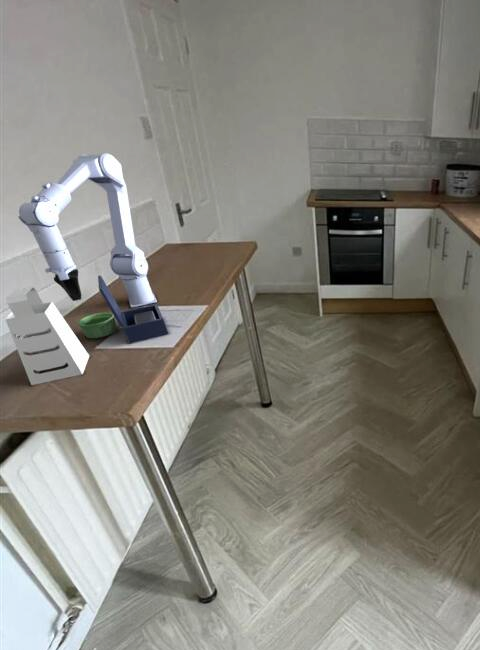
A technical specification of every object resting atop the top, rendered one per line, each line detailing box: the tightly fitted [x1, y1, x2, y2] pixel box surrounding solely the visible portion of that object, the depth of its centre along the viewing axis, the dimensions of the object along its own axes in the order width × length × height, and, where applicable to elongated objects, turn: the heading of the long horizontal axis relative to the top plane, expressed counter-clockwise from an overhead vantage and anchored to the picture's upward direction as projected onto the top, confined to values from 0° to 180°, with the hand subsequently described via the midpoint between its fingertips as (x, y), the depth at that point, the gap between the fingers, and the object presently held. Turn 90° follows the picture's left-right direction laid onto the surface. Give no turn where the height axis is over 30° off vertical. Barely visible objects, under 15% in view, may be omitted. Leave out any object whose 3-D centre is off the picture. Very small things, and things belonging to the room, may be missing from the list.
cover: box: [97, 274, 124, 328], centre depth 114 cm, size 11×14×1 cm
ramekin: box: [77, 312, 118, 339], centre depth 120 cm, size 9×9×4 cm
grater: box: [4, 286, 90, 386], centre depth 98 cm, size 10×10×20 cm
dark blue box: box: [121, 303, 169, 344], centre depth 120 cm, size 10×14×5 cm
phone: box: [134, 311, 156, 324], centre depth 121 cm, size 10×5×3 cm, turn 31°
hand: (77, 298), depth 120 cm, fingers closed
